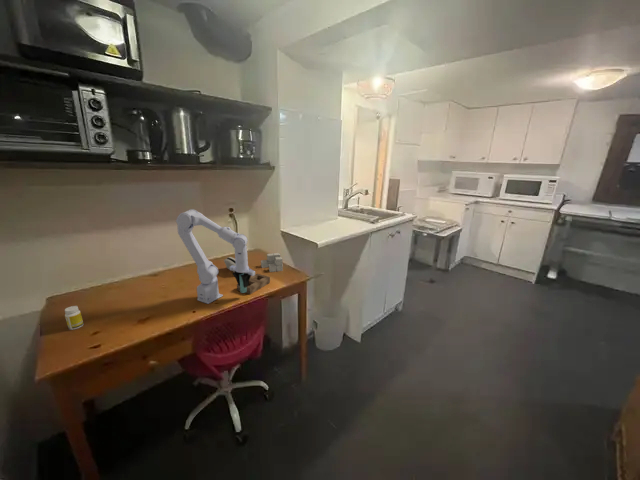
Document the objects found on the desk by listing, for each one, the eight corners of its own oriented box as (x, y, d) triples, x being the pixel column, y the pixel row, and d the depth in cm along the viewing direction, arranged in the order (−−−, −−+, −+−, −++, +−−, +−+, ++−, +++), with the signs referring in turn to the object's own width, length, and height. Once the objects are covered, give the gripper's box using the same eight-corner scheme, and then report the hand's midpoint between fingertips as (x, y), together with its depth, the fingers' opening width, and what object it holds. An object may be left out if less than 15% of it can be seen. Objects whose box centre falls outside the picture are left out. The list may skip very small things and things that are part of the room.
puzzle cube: (261, 265, 179) (260, 254, 177) (279, 264, 182) (279, 252, 180) (263, 273, 168) (262, 260, 166) (282, 271, 171) (282, 258, 169)
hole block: (250, 294, 141) (250, 288, 140) (237, 290, 145) (236, 284, 144) (270, 282, 155) (269, 276, 154) (257, 279, 159) (257, 273, 158)
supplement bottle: (86, 323, 115) (82, 305, 113) (77, 330, 111) (72, 311, 108) (74, 323, 115) (69, 305, 113) (65, 330, 110) (59, 311, 108)
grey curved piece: (248, 273, 166) (242, 260, 161) (242, 278, 164) (235, 264, 158) (234, 266, 177) (228, 253, 172) (228, 270, 175) (221, 257, 170)
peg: (243, 293, 135) (242, 276, 133) (239, 292, 136) (237, 275, 134) (248, 290, 138) (247, 274, 135) (243, 289, 139) (242, 273, 136)
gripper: (258, 260, 132) (260, 286, 136) (236, 255, 139) (238, 279, 143) (248, 265, 126) (250, 291, 130) (225, 259, 133) (227, 285, 137)
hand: (243, 286), depth 136 cm, fingers closed on peg, 3 cm apart
